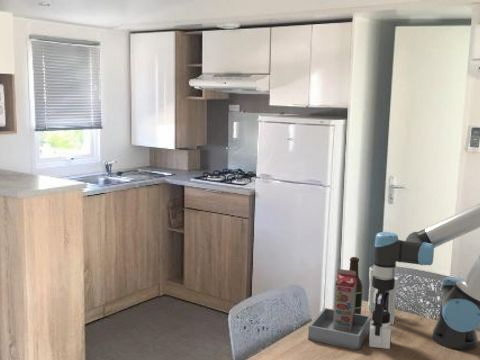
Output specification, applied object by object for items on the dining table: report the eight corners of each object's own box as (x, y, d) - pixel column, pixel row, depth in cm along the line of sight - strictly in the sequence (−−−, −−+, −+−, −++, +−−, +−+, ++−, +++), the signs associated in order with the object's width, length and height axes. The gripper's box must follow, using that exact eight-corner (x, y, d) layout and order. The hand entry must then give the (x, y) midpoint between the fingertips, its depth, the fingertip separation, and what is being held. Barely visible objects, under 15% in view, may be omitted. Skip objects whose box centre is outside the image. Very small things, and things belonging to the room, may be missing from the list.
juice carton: (336, 322, 209) (339, 266, 206) (353, 325, 207) (357, 268, 204) (332, 328, 203) (336, 271, 200) (350, 331, 201) (354, 273, 198)
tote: (370, 329, 206) (371, 316, 205) (358, 349, 188) (359, 336, 187) (323, 320, 213) (324, 307, 213) (308, 339, 195) (308, 325, 195)
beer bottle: (362, 320, 214) (366, 261, 211) (343, 319, 215) (346, 260, 211) (358, 312, 222) (362, 255, 219) (339, 312, 222) (343, 254, 219)
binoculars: (364, 308, 227) (367, 267, 224) (376, 308, 228) (379, 266, 226) (385, 325, 210) (388, 280, 208) (397, 324, 211) (400, 279, 209)
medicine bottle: (390, 349, 189) (392, 316, 187) (369, 346, 190) (371, 314, 189) (388, 340, 196) (391, 308, 194) (368, 338, 197) (370, 306, 196)
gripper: (378, 267, 201) (374, 326, 204) (366, 283, 182) (362, 348, 185) (399, 270, 198) (395, 330, 201) (389, 287, 179) (385, 352, 182)
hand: (379, 338), depth 193 cm, fingers closed on medicine bottle, 8 cm apart
